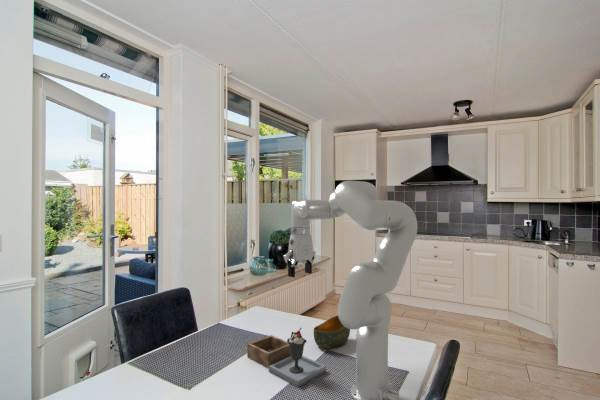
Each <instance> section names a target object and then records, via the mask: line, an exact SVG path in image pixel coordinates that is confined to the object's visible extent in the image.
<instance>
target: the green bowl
mask: <svg viewBox="0 0 600 400" xmlns="http://www.w3.org/2000/svg"><path fill="white" fill-rule="evenodd" d="M350 334H351V329H348V328H346V327H345V326H343V325H342V323H341V322H340V320H339V317H338V314H337V315H334V316H333V317H330V318H328V319H327V320H325V321H324V322H322V323H320V324H319V325H316V326H314V328H313V338H314V342H315V344H316V345H317V347H318V349H320V350H322V351H323V350H325V351H330V350H336V349H338V348H342V347H344V346H345V345H346V344H347V342H348V339H349V337H350Z"/></svg>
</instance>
